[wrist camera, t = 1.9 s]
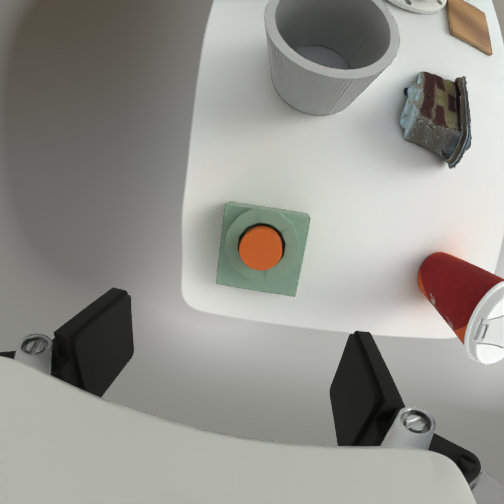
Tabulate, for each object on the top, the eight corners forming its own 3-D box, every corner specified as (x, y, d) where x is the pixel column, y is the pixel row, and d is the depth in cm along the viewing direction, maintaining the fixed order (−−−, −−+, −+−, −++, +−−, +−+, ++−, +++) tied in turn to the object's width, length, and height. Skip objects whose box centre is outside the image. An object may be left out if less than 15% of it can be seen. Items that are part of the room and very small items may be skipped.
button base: (230, 199, 29) (221, 203, 25) (308, 211, 29) (312, 217, 24) (221, 274, 32) (211, 290, 27) (294, 286, 31) (295, 304, 27)
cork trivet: (443, -7, 18) (445, -9, 18) (482, 14, 18) (484, 13, 17) (450, 33, 21) (452, 31, 20) (489, 55, 20) (492, 54, 19)
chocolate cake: (409, 51, 23) (409, 80, 17) (464, 72, 21) (485, 112, 15) (396, 115, 31) (387, 166, 25) (444, 134, 29) (450, 190, 23)
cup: (370, 106, 25) (419, 71, 14) (288, 124, 27) (291, 92, 15) (340, 34, 23) (365, -27, 12) (260, 50, 25) (247, -12, 13)
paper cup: (403, 303, 30) (458, 374, 17) (416, 240, 28) (490, 284, 15) (453, 304, 30) (514, 363, 16) (466, 245, 28) (542, 285, 14)
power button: (244, 222, 26) (241, 226, 24) (285, 229, 25) (285, 232, 24) (239, 261, 27) (236, 267, 25) (278, 267, 26) (278, 274, 25)
